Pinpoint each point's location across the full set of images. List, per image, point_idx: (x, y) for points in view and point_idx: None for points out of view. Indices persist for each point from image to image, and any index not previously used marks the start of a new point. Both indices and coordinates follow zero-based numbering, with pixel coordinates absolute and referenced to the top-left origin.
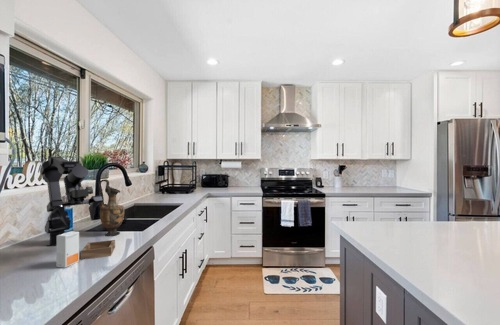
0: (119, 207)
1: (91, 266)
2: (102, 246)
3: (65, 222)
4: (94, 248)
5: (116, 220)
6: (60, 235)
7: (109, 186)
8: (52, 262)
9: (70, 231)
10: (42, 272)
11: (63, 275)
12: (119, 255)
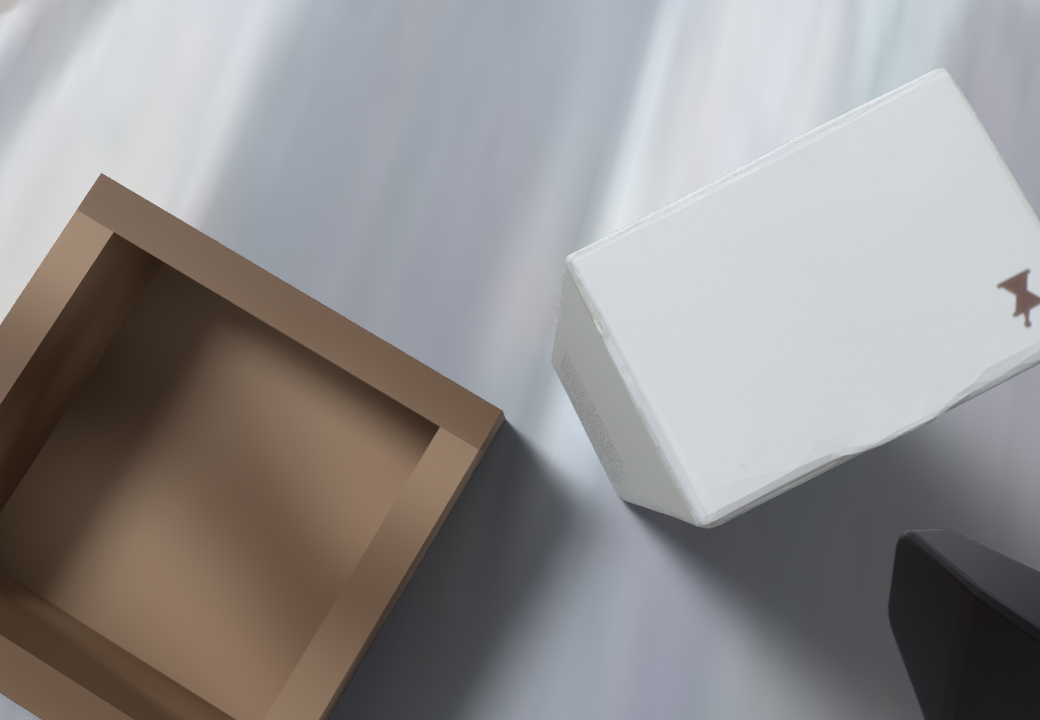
0: None
1: (496, 39)
2: (88, 642)
3: (1007, 561)
4: (205, 707)
5: None
6: (1029, 245)
7: None
8: (821, 657)
9: (730, 491)
10: None
11: (818, 25)
12: (75, 132)
